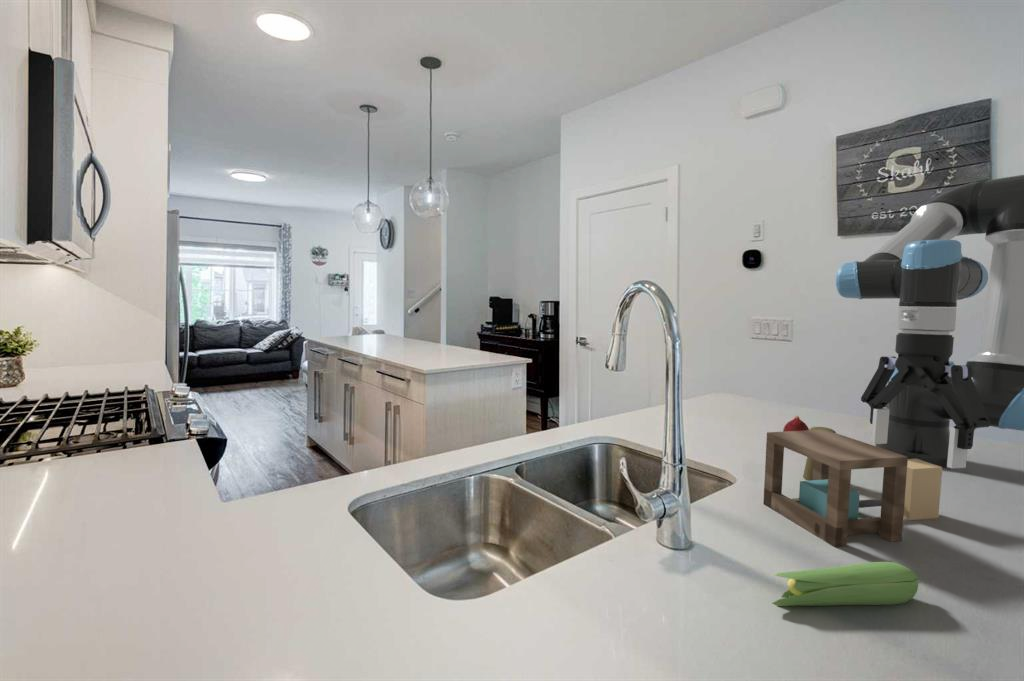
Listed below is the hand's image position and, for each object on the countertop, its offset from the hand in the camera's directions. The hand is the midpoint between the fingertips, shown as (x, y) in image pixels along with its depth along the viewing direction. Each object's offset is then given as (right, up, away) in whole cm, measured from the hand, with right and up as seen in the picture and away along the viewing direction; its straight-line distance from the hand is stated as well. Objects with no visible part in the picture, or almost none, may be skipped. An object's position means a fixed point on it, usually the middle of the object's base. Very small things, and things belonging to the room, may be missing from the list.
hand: (914, 454), depth 85 cm
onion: (+2, -8, +40) cm, 41 cm away
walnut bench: (-16, -11, -2) cm, 20 cm away
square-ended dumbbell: (-8, -11, 0) cm, 13 cm away
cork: (-6, -9, +17) cm, 20 cm away
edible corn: (-29, -13, -24) cm, 40 cm away
